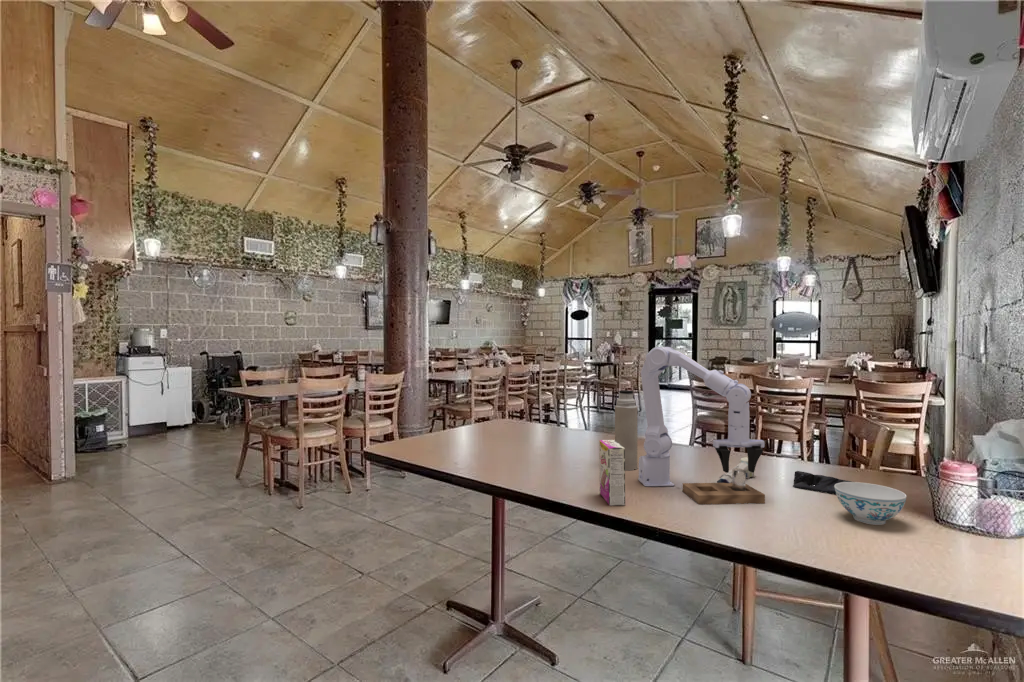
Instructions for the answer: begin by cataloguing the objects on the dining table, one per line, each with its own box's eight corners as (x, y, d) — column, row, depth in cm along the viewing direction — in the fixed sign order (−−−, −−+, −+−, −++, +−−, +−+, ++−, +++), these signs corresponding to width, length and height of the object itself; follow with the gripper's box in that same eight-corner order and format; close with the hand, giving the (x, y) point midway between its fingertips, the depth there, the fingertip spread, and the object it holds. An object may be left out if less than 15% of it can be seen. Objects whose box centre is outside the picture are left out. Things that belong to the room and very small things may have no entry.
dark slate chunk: (872, 504, 141) (872, 488, 141) (787, 488, 157) (787, 473, 157) (884, 493, 152) (884, 477, 152) (803, 478, 168) (803, 464, 168)
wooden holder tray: (698, 504, 140) (698, 495, 140) (682, 491, 152) (682, 483, 152) (764, 503, 141) (764, 494, 141) (743, 490, 153) (743, 482, 153)
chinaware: (910, 536, 117) (910, 503, 117) (834, 523, 125) (834, 493, 125) (902, 516, 130) (902, 487, 130) (833, 506, 138) (833, 479, 138)
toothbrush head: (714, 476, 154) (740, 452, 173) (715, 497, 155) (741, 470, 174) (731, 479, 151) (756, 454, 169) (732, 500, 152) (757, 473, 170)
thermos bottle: (616, 464, 186) (616, 389, 186) (638, 465, 183) (638, 389, 183) (613, 469, 178) (613, 391, 178) (636, 471, 176) (636, 391, 176)
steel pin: (735, 499, 145) (735, 471, 145) (729, 495, 148) (729, 468, 148) (747, 498, 145) (747, 471, 145) (741, 495, 148) (741, 468, 148)
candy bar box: (598, 494, 150) (598, 439, 150) (614, 493, 150) (614, 439, 150) (608, 506, 138) (608, 447, 138) (626, 506, 139) (625, 447, 139)
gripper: (720, 428, 142) (720, 475, 142) (770, 427, 143) (770, 475, 143) (709, 423, 149) (709, 469, 149) (757, 423, 150) (757, 468, 150)
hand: (738, 471), depth 147 cm, fingers open, 7 cm apart
